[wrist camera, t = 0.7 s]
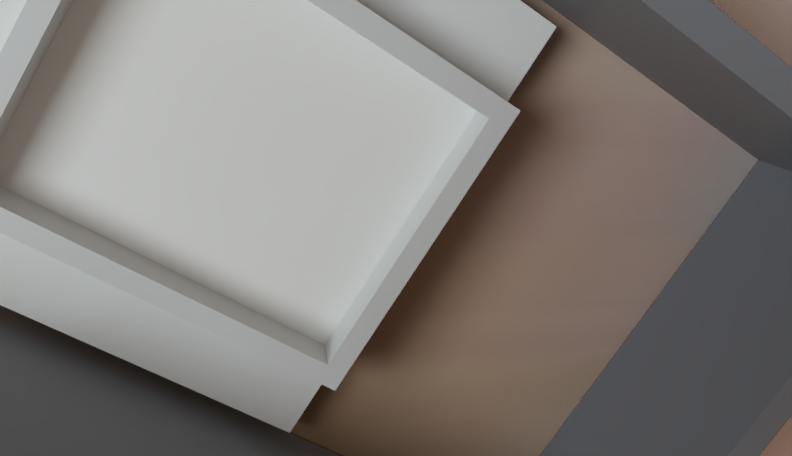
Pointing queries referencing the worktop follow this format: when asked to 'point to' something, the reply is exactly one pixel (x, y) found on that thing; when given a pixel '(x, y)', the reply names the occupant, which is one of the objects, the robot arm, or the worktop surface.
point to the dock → (626, 372)
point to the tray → (242, 173)
